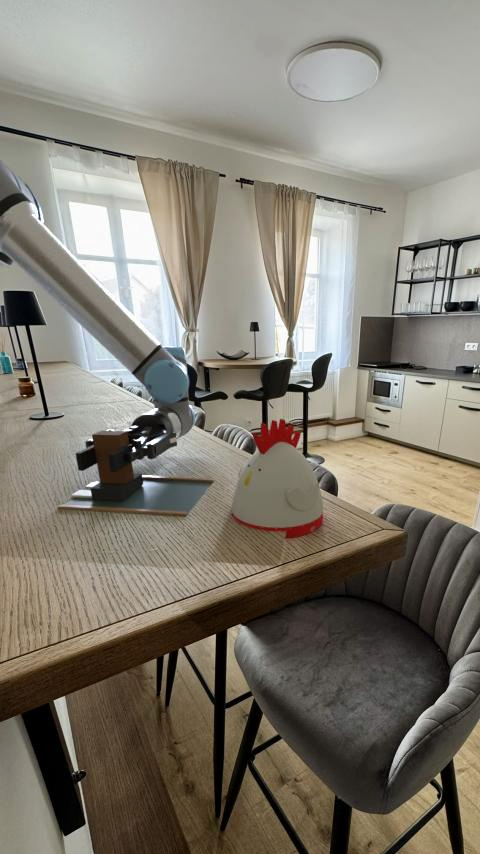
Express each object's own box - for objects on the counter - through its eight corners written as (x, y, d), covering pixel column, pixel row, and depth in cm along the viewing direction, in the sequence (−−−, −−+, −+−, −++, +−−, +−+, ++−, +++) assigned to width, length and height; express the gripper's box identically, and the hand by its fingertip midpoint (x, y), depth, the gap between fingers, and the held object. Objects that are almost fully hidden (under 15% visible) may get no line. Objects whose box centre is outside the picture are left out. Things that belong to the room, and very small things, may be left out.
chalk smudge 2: (85, 488, 70) (84, 486, 70) (93, 483, 72) (92, 481, 72) (107, 489, 70) (107, 487, 70) (114, 484, 72) (114, 482, 72)
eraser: (116, 483, 73) (107, 427, 69) (143, 484, 72) (136, 427, 68) (92, 500, 65) (80, 438, 62) (122, 501, 65) (112, 438, 61)
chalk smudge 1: (71, 497, 66) (70, 494, 66) (80, 491, 69) (79, 489, 69) (94, 498, 66) (94, 496, 66) (102, 493, 68) (102, 490, 68)
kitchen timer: (214, 514, 64) (209, 417, 58) (282, 495, 72) (283, 408, 66) (270, 548, 54) (271, 435, 48) (341, 521, 62) (349, 421, 57)
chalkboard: (58, 516, 62) (56, 506, 62) (110, 481, 77) (109, 473, 77) (186, 523, 60) (186, 513, 60) (214, 487, 75) (214, 478, 75)
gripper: (199, 449, 83) (154, 489, 62) (117, 446, 85) (45, 483, 64) (197, 412, 81) (149, 440, 59) (112, 409, 82) (35, 435, 61)
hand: (95, 462), depth 61 cm, fingers closed on eraser, 4 cm apart
